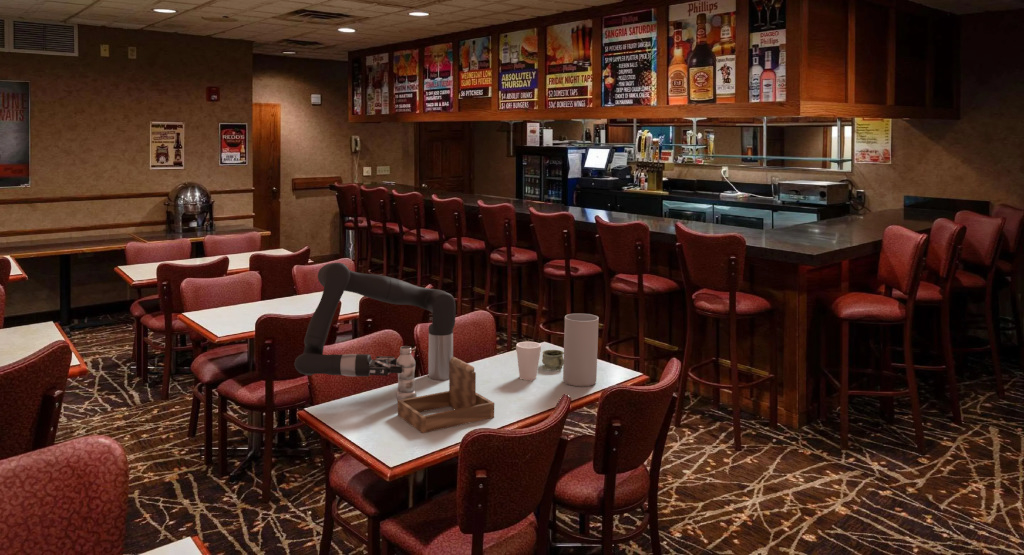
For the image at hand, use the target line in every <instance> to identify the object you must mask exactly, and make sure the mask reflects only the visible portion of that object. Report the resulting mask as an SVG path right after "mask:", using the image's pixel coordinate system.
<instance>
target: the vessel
mask: <svg viewBox="0 0 1024 555" xmlns="http://www.w3.org/2000/svg"><path fill="white" fill-rule="evenodd" d="M541 361H542V364H543V369H545V370H548V371H560V370H562V369H563V364H564V350H563V351H562V350H559V349H546V350H543V351H542V359H541Z"/></svg>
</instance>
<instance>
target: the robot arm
mask: <svg viewBox="0 0 1024 555" xmlns="http://www.w3.org/2000/svg"><path fill="white" fill-rule="evenodd" d="M317 280H318V282H319V283H320V285H321V286H322V287H323V292H322V294H321V298H320V300H319V303H318V305H317V307H316V309H315V311H314V312H313V314H312V316H311V319H310V320H309V323H308V325H307V329H306V333H305V336H304V340H303V343H304V349H303V353H301V354H299V355H298V356H297V357H296V358H295V360H294V368H295V370H296V371H297V373H300V374H301V375H306V376H313V375H321V374H322V375H329V376H345V377H365V378H367V377H370V376H384V377H386V376H389V375H390V374H398V373H402V367H401V366H396V361H397V359H398V358H395V356H393V355H392V356H388V355H387V356H386V355H385V356H381V355H379V356H376V357H375V359H372V356H371V354H369V353H347V354H346V353H345V354H344V353H343V354H340V353H339V354H334V353H333V354H324V346H325V344H326V342H327V341H326V340H327V338H328V334H329V333H330V332H329V331H330V327H331V324H332V321H333V319H334V316H335V313H336V310H337V308H338V306H339V303H340V301H341V298H342V297H343V294H344V293H345V292H349V293H353V294H357V295H360V296H363V297H367V298H369V299H373V300H376V301H380V302H383V303H388V304H393V305H401V306H402V305H403V306H404V305H405V306H406V305H407V306H414V307H417V308H421V309H424V310H426V311H429V312H430V313H432V319H431V323H430V324H429V326H428V356H427V357H428V361H427V362H428V365H427V366H428V370H427V371H428V372H427V373H428V377H429V378H430V379H431V380H438V381H443V380H444V381H445V380H449V361H450V360H451V358H452V357H454V328H455V325H456V312H457V311H456V310H457V309H456V307H457V306H456V300H455V298H454V296H453V295H452V294H451V293H449V292H448V291H447V292H446V291H445V290H443V289H435V288H429V287H422V286H418V285H414V284H412V283H410V282H408V281H404V280H401V279H398V278H394V277H390V276H387V275H382V274H381V275H380V274H373V273H363V272H356V271H353V270H351V269H349V267H348V266H347V265H346V264H344V263H343V262H342V263H341V262H330V263H326V264H325V265H323V266H322V267H320V269H319V270H318V273H317Z"/></svg>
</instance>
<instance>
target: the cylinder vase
mask: <svg viewBox="0 0 1024 555" xmlns="http://www.w3.org/2000/svg"><path fill="white" fill-rule="evenodd" d="M599 318H600V317H599V316H598V315H594V314H591V313H569V314H566V315H565V316H564V334H563V337H564V339H563V352H564V354H563V359H564V364H563V366H562V369H563V370H562V374H563V375H562V376H563V377H562V380H563V381H562V382H564V383H565V384H566V385H569V386H572V387H581V388H582V387H584V386H585V387H590V385H591V386H593V385H594V384H596V382H597V371H598V369H597V367H598V345H599V344H598V343H599V341H598V340H599ZM585 387H584V388H585Z"/></svg>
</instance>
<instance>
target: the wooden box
mask: <svg viewBox="0 0 1024 555" xmlns="http://www.w3.org/2000/svg"><path fill="white" fill-rule="evenodd" d="M476 374H477V373H476V372H475V367H474V366H473V365H470V363H468V362H465V361H464V360H461V359H459V358H457V357H455V356H453V357H452V358H451V360H450V361H449V379H448V380H449V381H448V382H449V383H448V384H449V385H448V388H449V390H446V391H441V392H436V393H431V394H426V395H421V396H416V397H414V398H408V399H403V400H398V401H397V416H399V417H400V418H401V419H403V420H404V421H405V422H407V423H408V424H409V425H410V426H412V427H413V428H414V429H416V430H417V431H418V432H420V433H421V434H424V433H429V432H434V431H439V430H442V429H443V428H444V429H447V428H451V427H453V428H454V427H458V426H462V425H466V424H465V423H467V424H470V423H469V422H471V423H476V422H479V421H484V419H485V420H489V418H490V419H493V418H495V402H493V401H492V400H490V399H488V397H487V398H486V397H485V396H483V395H481V394H479V393H477V392H476V391H477V390H476V389H477V388H476V385H477V384H476V383H477V379H476V377H477V376H476ZM447 407H450V408H451V409H452V410H451V409H450V410H446V411H442V412H437V413H432V414H427V415H424V414H422V413H423V412H426V411H432V410H438V409H442V408H447ZM454 409H455V410H454ZM475 421H476V422H475ZM461 424H462V425H461ZM457 425H458V426H457Z"/></svg>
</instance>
